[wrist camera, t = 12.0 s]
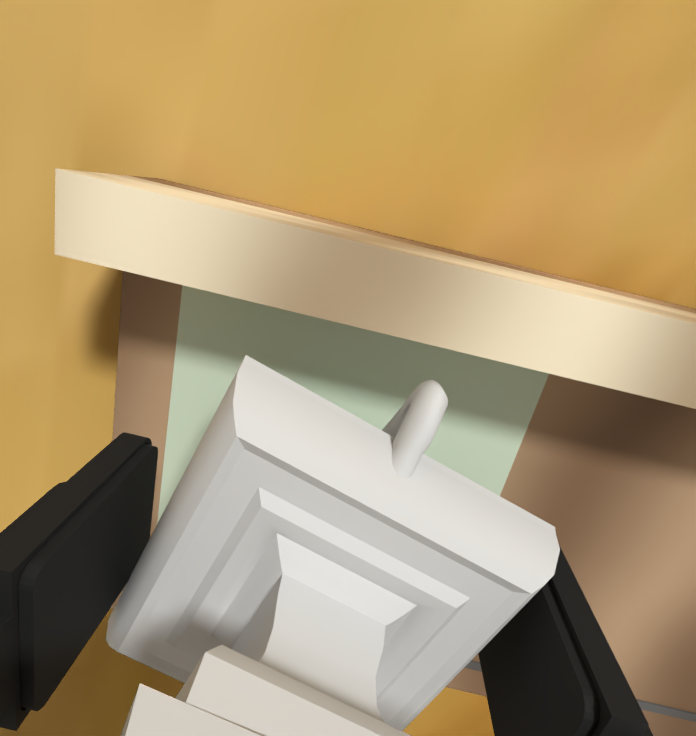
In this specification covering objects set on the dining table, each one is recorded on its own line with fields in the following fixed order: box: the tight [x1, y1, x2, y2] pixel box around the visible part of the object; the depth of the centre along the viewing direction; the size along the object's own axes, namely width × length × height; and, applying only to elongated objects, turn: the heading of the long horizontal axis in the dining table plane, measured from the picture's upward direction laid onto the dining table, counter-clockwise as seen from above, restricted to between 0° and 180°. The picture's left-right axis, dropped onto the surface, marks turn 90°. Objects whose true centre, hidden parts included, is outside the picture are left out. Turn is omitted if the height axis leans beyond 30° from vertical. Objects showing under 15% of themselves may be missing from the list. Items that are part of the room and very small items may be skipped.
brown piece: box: [55, 169, 696, 736], centre depth 12 cm, size 26×13×4 cm, turn 77°
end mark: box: [157, 285, 549, 524], centre depth 13 cm, size 9×10×1 cm
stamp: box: [106, 355, 560, 736], centre depth 8 cm, size 9×7×8 cm
